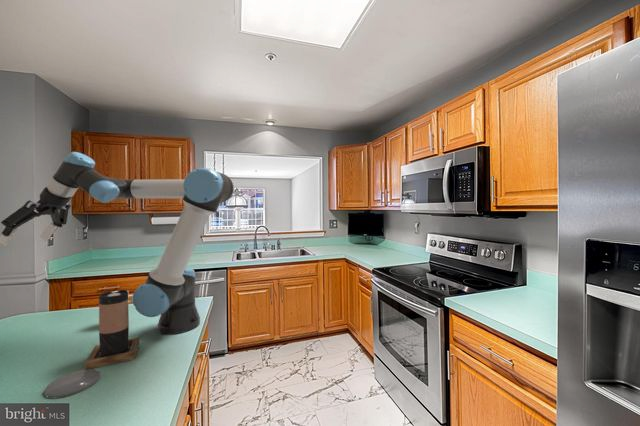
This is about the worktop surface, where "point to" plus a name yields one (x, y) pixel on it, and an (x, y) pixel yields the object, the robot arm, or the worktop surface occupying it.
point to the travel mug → (113, 323)
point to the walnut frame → (98, 362)
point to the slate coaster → (72, 383)
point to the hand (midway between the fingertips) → (24, 240)
